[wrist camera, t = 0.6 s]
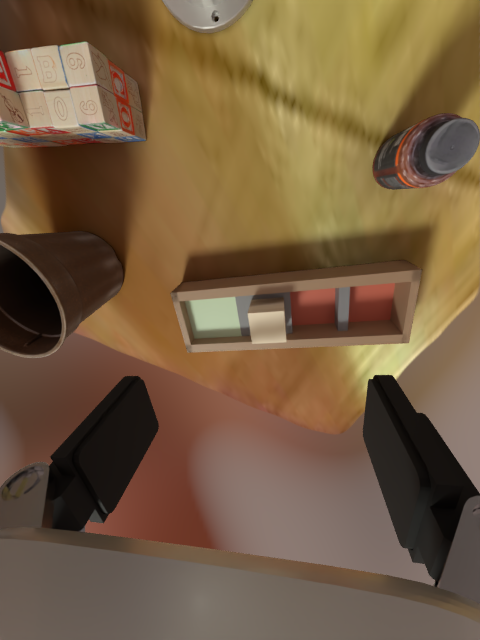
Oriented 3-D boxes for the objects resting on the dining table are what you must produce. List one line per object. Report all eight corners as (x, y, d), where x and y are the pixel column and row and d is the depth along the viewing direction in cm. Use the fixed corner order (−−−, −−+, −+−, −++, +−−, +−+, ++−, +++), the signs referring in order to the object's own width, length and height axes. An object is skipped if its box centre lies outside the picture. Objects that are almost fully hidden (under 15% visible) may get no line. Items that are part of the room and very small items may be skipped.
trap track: (181, 282, 42) (170, 293, 38) (404, 259, 36) (422, 269, 31) (196, 337, 47) (187, 352, 43) (394, 326, 41) (408, 343, 36)
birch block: (251, 299, 39) (247, 313, 34) (283, 297, 38) (284, 310, 33) (255, 327, 41) (252, 343, 37) (285, 325, 40) (286, 342, 36)
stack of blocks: (138, 80, 31) (62, 20, 20) (148, 141, 34) (86, 117, 23) (-8, 93, 34) (-143, 47, 23) (12, 148, 37) (-100, 130, 26)
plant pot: (51, 293, 47) (-47, 336, 33) (41, 204, 40) (-91, 210, 26) (132, 319, 47) (69, 373, 33) (138, 234, 40) (59, 258, 26)
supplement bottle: (415, 188, 32) (477, 187, 22) (366, 190, 33) (404, 189, 23) (430, 131, 29) (509, 99, 19) (376, 134, 30) (424, 105, 20)
